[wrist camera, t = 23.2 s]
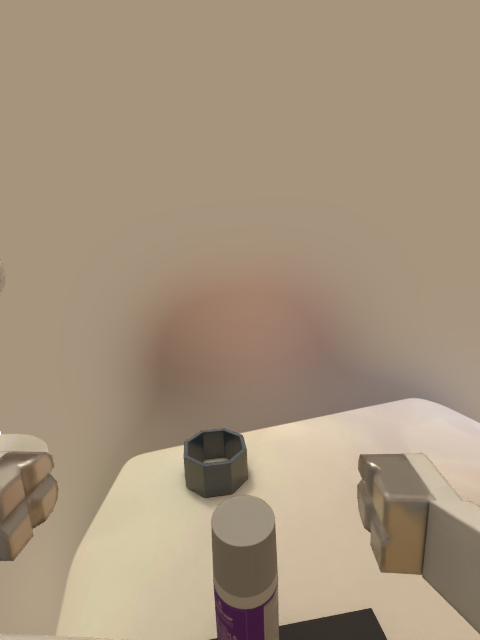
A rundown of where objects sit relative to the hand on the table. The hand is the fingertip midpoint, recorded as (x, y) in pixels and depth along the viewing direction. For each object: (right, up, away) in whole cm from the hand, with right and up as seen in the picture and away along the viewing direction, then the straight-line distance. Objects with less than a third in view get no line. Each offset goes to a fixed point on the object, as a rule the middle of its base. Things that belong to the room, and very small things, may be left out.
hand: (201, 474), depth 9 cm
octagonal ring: (-3, -20, +42) cm, 46 cm away
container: (+2, -25, +17) cm, 30 cm away
